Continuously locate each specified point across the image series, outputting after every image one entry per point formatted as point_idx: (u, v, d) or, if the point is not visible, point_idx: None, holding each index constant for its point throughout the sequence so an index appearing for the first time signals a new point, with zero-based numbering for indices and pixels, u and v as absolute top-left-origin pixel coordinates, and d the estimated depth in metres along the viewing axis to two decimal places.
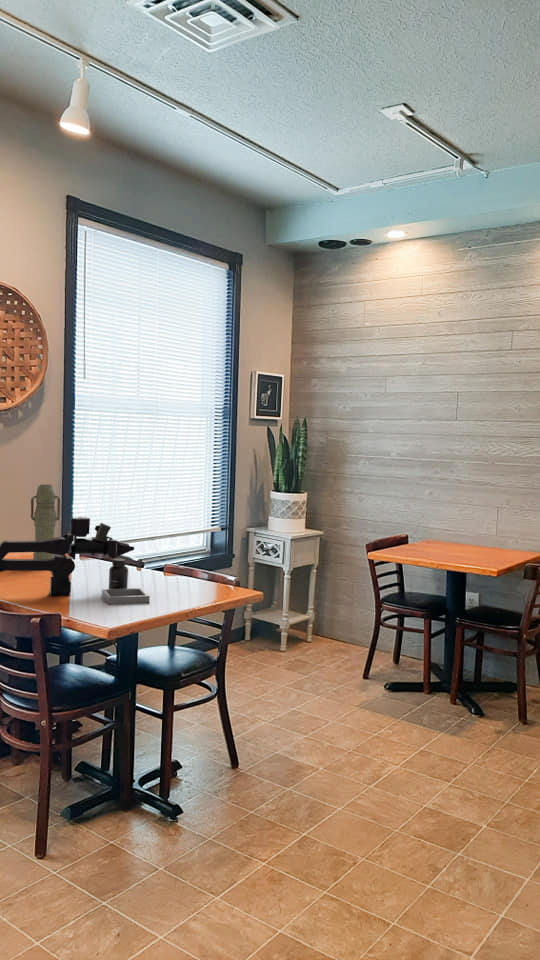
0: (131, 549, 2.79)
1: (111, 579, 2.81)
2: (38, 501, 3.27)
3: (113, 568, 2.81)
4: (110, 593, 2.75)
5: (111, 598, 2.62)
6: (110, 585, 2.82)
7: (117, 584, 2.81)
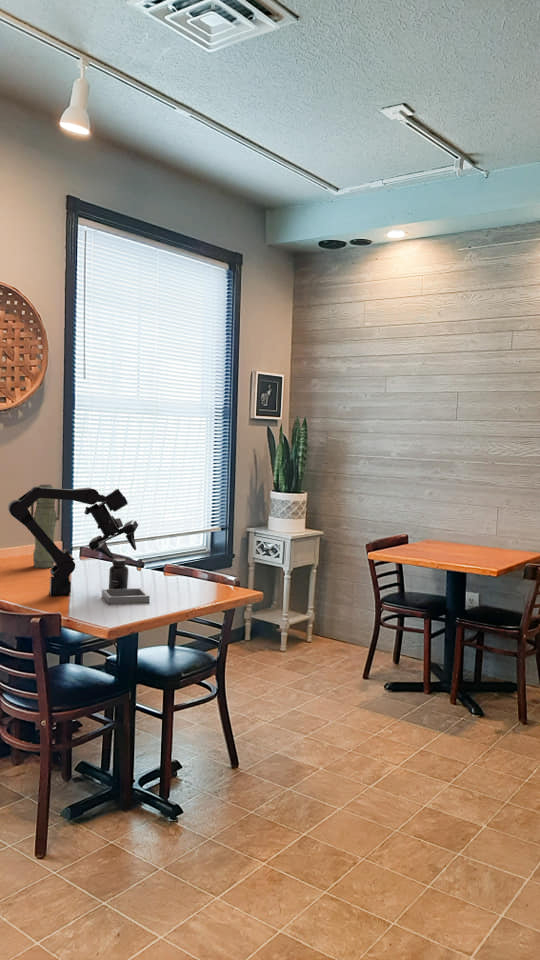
0: (135, 547, 2.82)
1: (111, 579, 2.81)
2: (38, 501, 3.27)
3: (113, 568, 2.81)
4: (110, 593, 2.75)
5: (111, 598, 2.62)
6: (110, 585, 2.82)
7: (117, 584, 2.81)
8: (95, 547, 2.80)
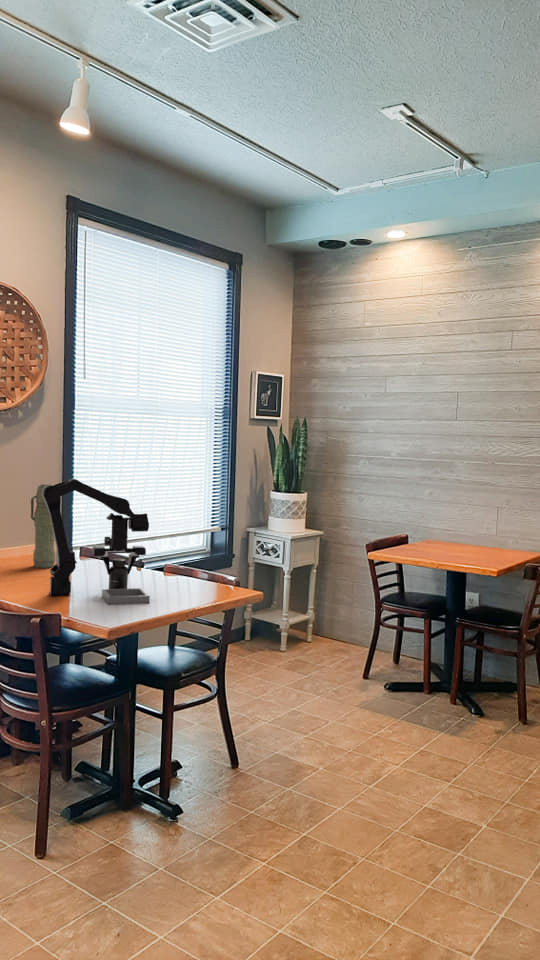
0: None
1: (111, 579, 2.81)
2: (38, 501, 3.27)
3: (113, 568, 2.81)
4: (110, 593, 2.75)
5: (111, 598, 2.62)
6: (110, 585, 2.82)
7: (117, 584, 2.81)
8: (101, 554, 2.78)
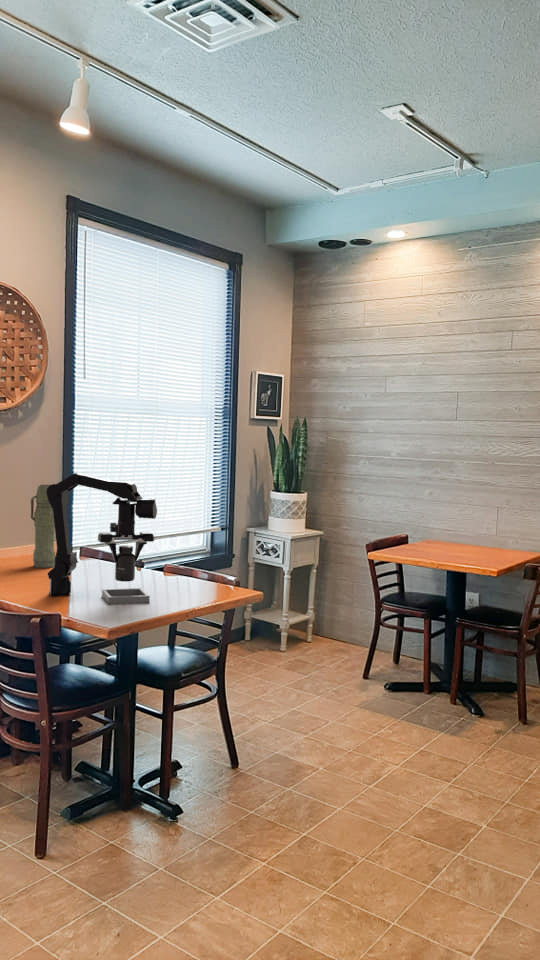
0: None
1: (118, 567, 2.70)
2: (38, 501, 3.27)
3: (120, 555, 2.70)
4: (110, 593, 2.75)
5: (111, 598, 2.62)
6: (117, 573, 2.70)
7: (124, 571, 2.70)
8: (107, 540, 2.67)
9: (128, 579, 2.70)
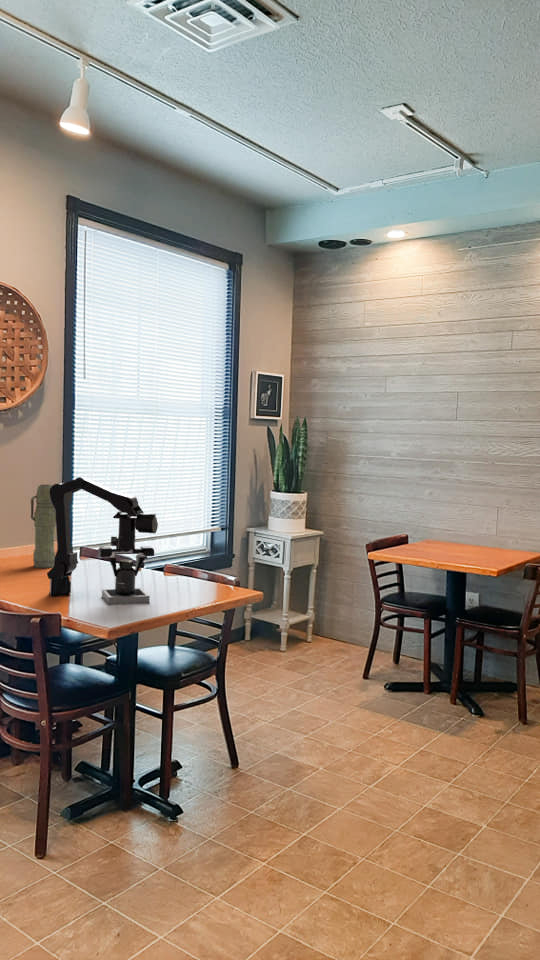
0: None
1: (118, 581, 2.68)
2: (38, 501, 3.27)
3: (120, 570, 2.68)
4: (110, 593, 2.75)
5: (111, 598, 2.62)
6: (117, 587, 2.69)
7: (124, 586, 2.68)
8: (107, 555, 2.65)
9: (128, 594, 2.68)
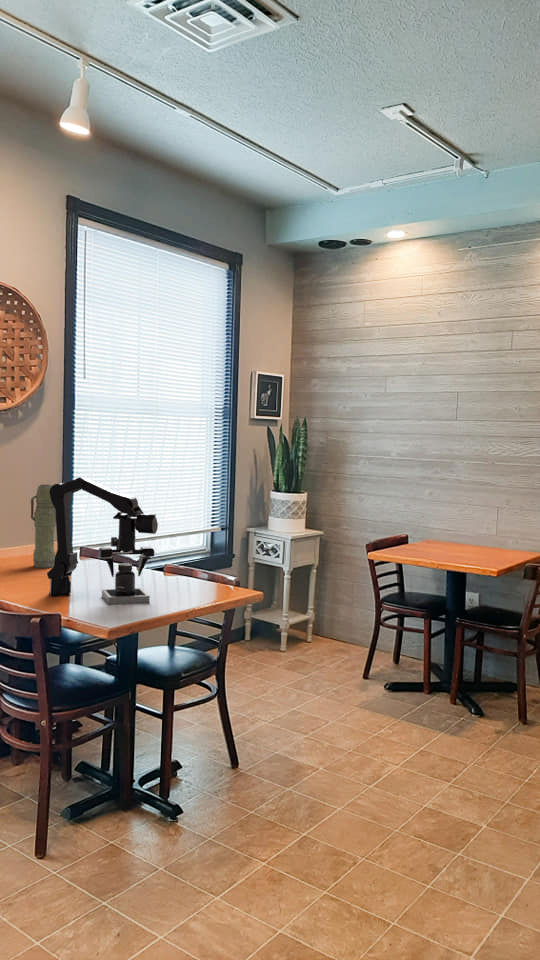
0: None
1: (117, 585, 2.68)
2: (38, 501, 3.27)
3: (119, 574, 2.68)
4: (110, 593, 2.75)
5: (111, 598, 2.62)
6: (117, 591, 2.69)
7: (124, 590, 2.68)
8: (107, 555, 2.65)
9: None
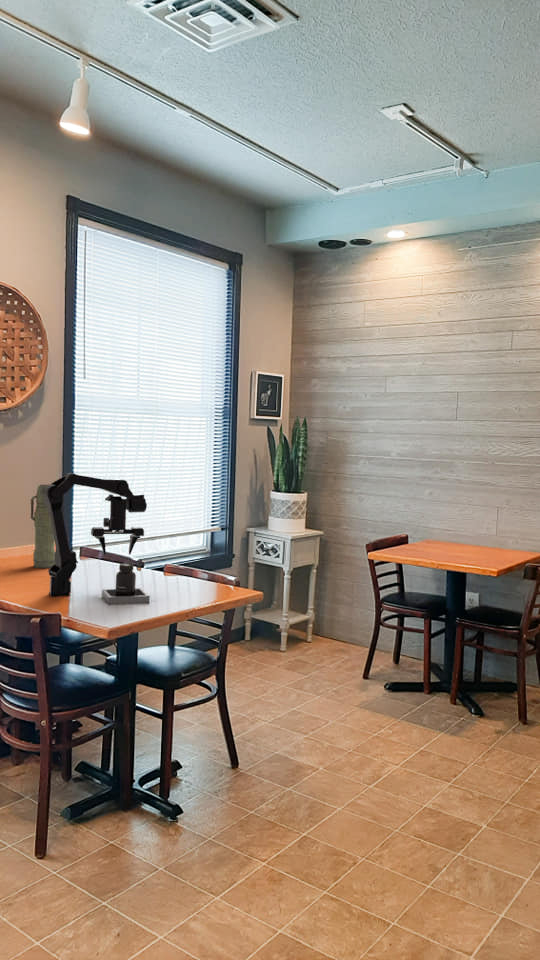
0: (131, 551, 2.89)
1: (118, 585, 2.68)
2: (38, 501, 3.27)
3: (120, 574, 2.68)
4: (110, 593, 2.75)
5: (111, 598, 2.62)
6: (117, 591, 2.69)
7: (124, 590, 2.68)
8: (99, 534, 2.82)
9: None
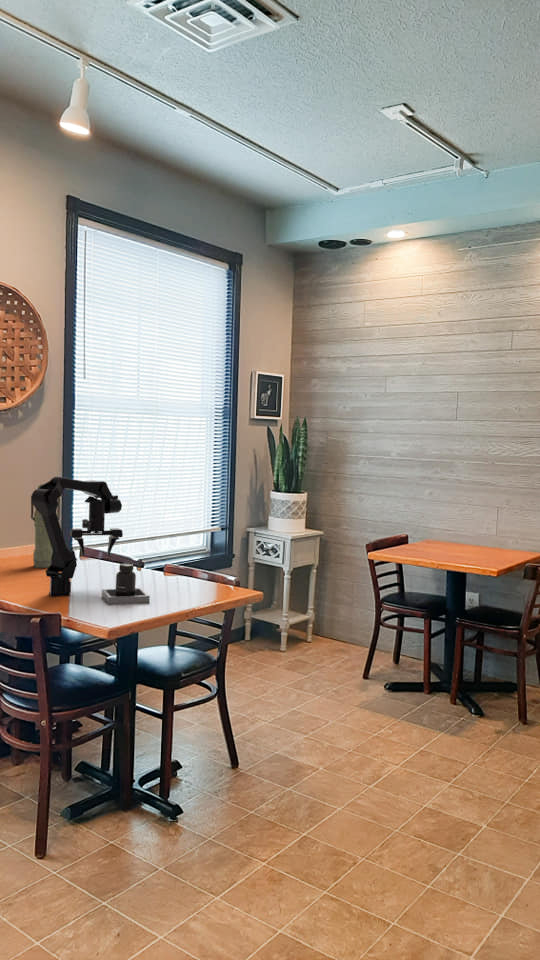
0: (109, 553, 2.91)
1: (118, 585, 2.68)
2: None
3: (120, 574, 2.68)
4: (110, 593, 2.75)
5: (111, 598, 2.62)
6: (117, 591, 2.69)
7: (124, 590, 2.68)
8: (78, 536, 2.84)
9: None
